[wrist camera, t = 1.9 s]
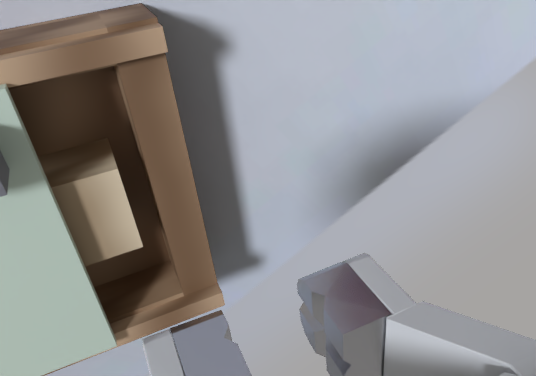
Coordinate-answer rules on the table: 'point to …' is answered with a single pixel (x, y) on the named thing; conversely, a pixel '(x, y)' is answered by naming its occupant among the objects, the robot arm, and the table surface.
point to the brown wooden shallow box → (121, 154)
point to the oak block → (92, 200)
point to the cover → (40, 267)
